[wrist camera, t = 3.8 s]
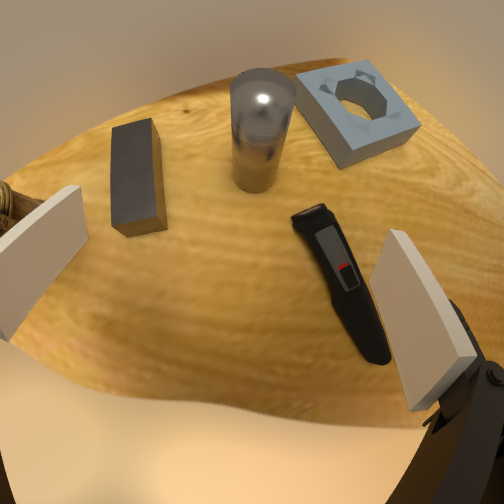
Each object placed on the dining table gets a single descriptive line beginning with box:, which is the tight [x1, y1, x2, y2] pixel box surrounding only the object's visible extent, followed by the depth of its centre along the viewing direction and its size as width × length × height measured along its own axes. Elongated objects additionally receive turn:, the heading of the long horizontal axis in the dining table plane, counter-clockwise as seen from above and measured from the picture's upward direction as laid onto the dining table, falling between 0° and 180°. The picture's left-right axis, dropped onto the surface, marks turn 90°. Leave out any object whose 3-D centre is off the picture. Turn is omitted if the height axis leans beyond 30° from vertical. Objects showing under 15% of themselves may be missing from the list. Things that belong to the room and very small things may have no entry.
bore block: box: [294, 60, 421, 170], centre depth 28 cm, size 10×10×4 cm
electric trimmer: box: [291, 203, 392, 365], centre depth 25 cm, size 4×16×3 cm, turn 25°
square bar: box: [110, 118, 168, 238], centre depth 26 cm, size 10×4×4 cm, turn 11°
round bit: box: [230, 68, 297, 193], centre depth 22 cm, size 4×4×12 cm
